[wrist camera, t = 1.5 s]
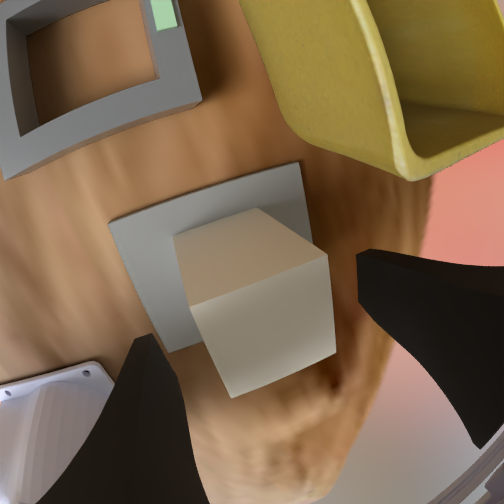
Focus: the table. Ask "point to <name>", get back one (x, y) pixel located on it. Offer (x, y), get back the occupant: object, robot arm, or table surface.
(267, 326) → the plug
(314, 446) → the table surface
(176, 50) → the socket housing
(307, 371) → the table surface
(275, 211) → the mat
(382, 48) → the flower pot
